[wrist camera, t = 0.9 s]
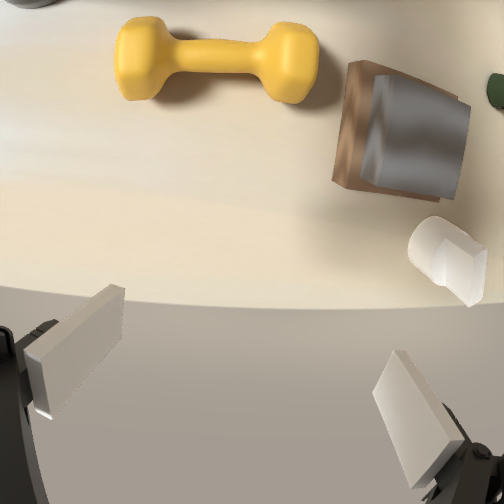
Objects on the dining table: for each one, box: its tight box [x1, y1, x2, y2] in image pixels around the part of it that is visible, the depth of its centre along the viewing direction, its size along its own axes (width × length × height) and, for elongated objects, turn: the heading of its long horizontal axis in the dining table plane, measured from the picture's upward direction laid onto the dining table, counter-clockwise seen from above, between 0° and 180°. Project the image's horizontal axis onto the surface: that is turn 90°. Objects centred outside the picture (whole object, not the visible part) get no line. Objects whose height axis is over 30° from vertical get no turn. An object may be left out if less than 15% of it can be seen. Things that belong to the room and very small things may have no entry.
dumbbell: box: [114, 16, 319, 104], centre depth 26 cm, size 19×9×8 cm, turn 86°
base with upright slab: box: [408, 216, 488, 307], centre depth 39 cm, size 9×9×12 cm
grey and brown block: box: [332, 60, 471, 202], centre depth 32 cm, size 15×15×8 cm
